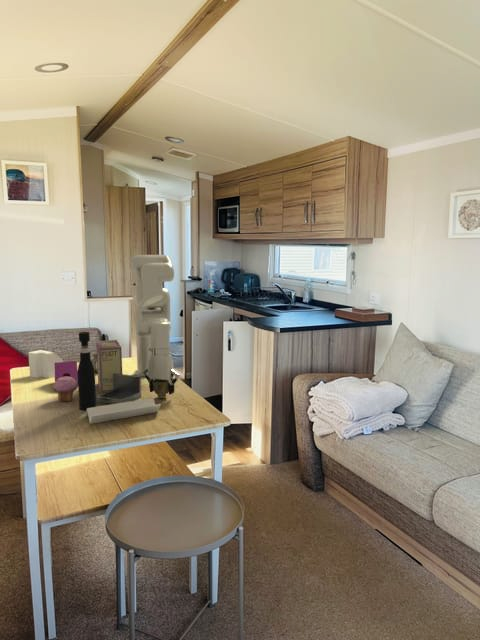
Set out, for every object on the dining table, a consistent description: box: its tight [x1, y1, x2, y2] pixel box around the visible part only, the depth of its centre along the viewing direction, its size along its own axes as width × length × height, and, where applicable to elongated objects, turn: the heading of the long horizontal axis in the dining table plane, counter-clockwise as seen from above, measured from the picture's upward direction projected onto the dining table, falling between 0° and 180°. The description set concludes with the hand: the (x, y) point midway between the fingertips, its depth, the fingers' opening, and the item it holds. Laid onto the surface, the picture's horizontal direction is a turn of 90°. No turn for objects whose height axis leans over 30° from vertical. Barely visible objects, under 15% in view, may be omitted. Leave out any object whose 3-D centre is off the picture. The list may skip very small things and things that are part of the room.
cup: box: [152, 379, 170, 400], centre depth 200 cm, size 8×7×8 cm
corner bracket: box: [28, 349, 64, 379], centre depth 235 cm, size 11×11×12 cm
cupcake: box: [53, 376, 78, 402], centre depth 197 cm, size 9×9×10 cm
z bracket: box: [84, 397, 162, 425], centre depth 179 cm, size 12×25×6 cm
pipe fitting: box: [91, 351, 98, 373], centre depth 244 cm, size 12×8×10 cm
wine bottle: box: [77, 331, 98, 412], centre depth 186 cm, size 6×6×30 cm
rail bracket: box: [96, 373, 142, 405], centre depth 197 cm, size 13×13×9 cm
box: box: [95, 339, 123, 395], centre depth 214 cm, size 17×9×20 cm, turn 21°
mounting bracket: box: [54, 360, 78, 391], centre depth 218 cm, size 10×9×19 cm
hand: (161, 392), depth 200 cm, fingers open, 8 cm apart
